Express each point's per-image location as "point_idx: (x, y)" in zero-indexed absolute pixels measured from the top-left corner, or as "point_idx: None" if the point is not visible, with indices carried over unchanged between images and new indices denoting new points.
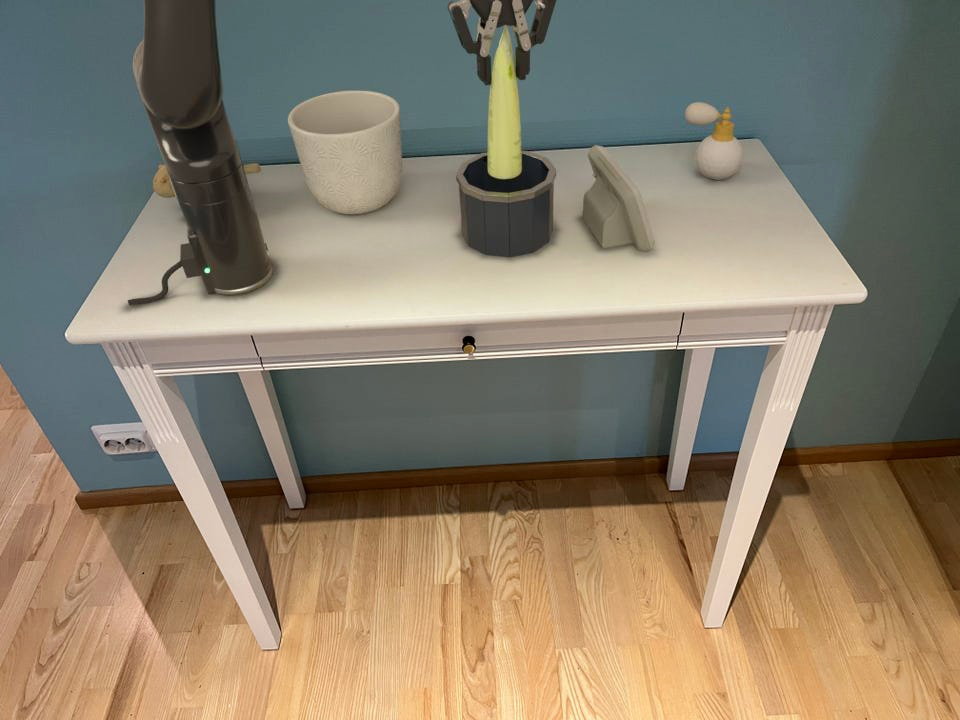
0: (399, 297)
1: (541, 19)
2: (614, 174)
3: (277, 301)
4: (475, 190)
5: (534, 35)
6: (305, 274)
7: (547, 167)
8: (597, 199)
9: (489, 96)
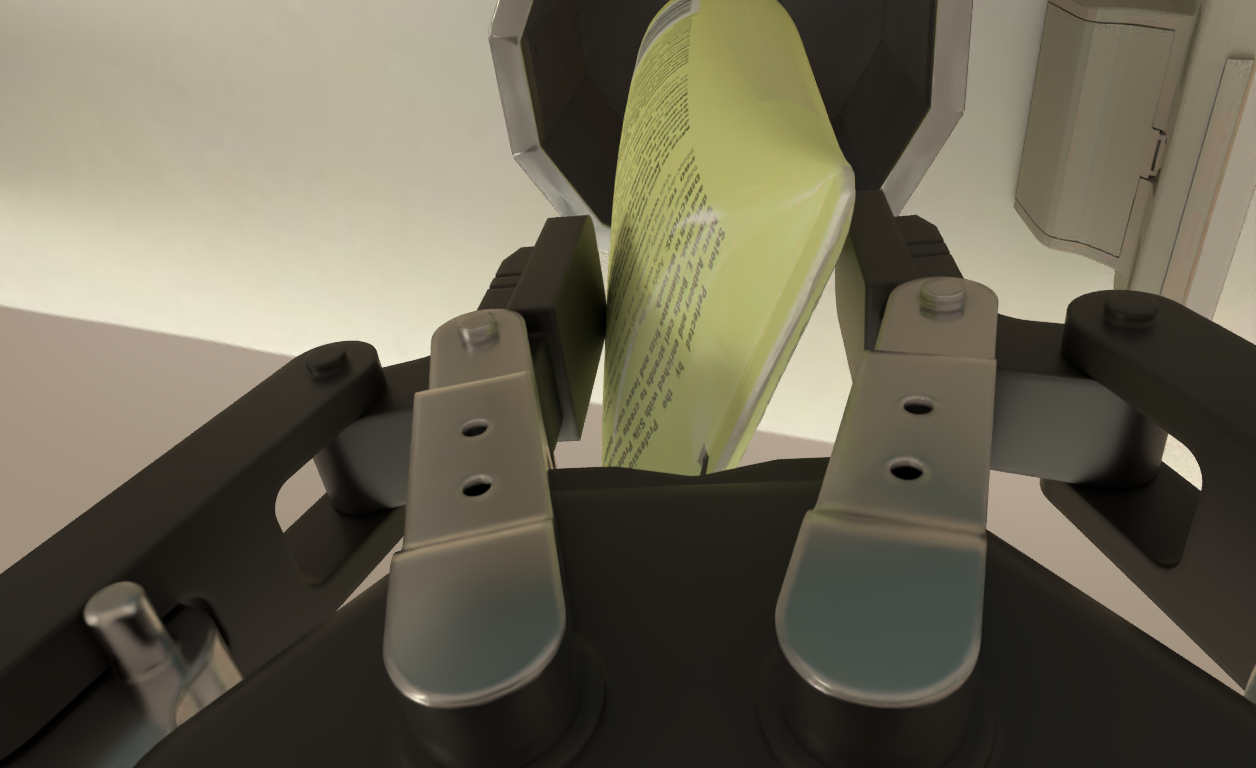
0: (359, 288)
1: (1194, 639)
2: (1176, 260)
3: (26, 224)
4: (562, 209)
5: (1056, 479)
6: (53, 108)
7: (931, 81)
8: (1103, 111)
9: (613, 212)
